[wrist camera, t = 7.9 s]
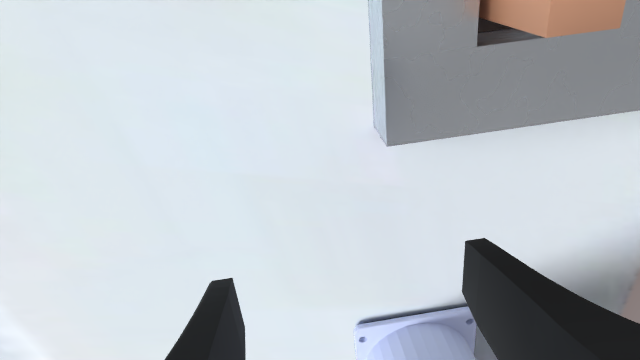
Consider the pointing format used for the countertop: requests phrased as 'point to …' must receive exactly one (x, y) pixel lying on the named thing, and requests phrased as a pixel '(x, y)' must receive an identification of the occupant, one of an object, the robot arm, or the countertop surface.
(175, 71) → the countertop surface
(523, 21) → the pin
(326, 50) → the countertop surface
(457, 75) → the grey square base
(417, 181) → the countertop surface
